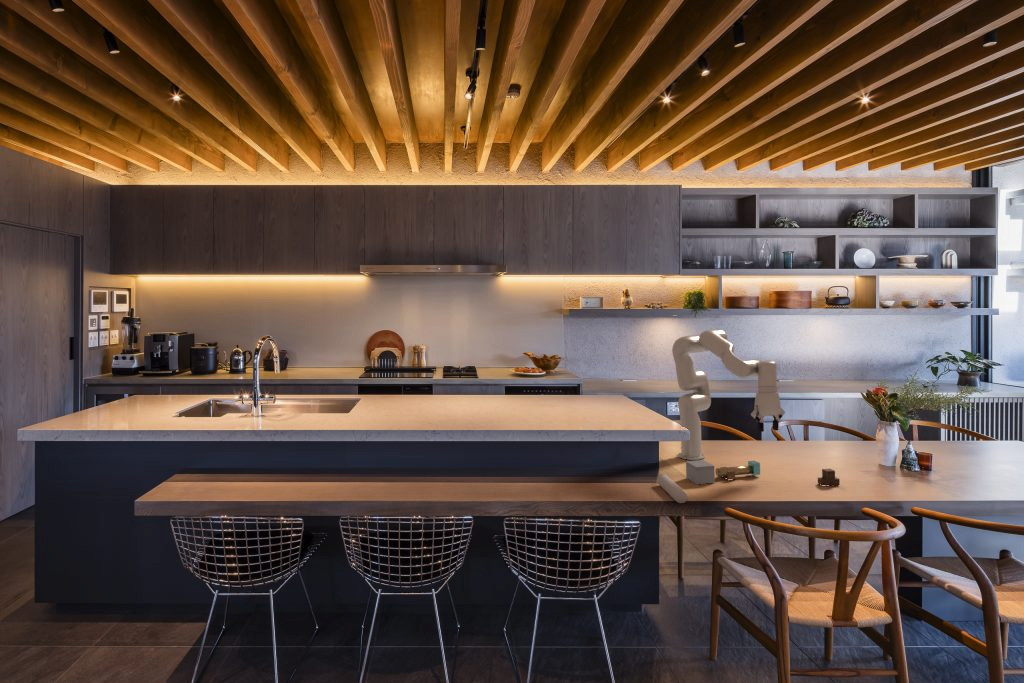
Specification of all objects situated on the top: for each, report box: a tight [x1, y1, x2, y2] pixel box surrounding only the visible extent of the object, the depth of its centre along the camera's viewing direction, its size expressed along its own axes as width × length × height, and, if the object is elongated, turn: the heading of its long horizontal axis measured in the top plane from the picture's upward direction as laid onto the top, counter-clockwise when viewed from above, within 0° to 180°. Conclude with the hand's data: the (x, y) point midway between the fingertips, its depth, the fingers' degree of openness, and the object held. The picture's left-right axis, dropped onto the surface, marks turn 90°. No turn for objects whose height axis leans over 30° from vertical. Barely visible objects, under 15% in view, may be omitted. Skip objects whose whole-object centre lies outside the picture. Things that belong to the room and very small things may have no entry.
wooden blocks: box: [817, 468, 841, 485], centre depth 247 cm, size 15×15×7 cm
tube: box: [656, 473, 688, 504], centre depth 244 cm, size 5×5×25 cm
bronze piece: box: [715, 460, 761, 478], centre depth 263 cm, size 4×18×5 cm, turn 99°
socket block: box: [685, 459, 716, 486], centre depth 261 cm, size 10×8×8 cm
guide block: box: [719, 466, 736, 480], centre depth 263 cm, size 7×3×4 cm, turn 9°
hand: (768, 430), depth 265 cm, fingers open, 6 cm apart
